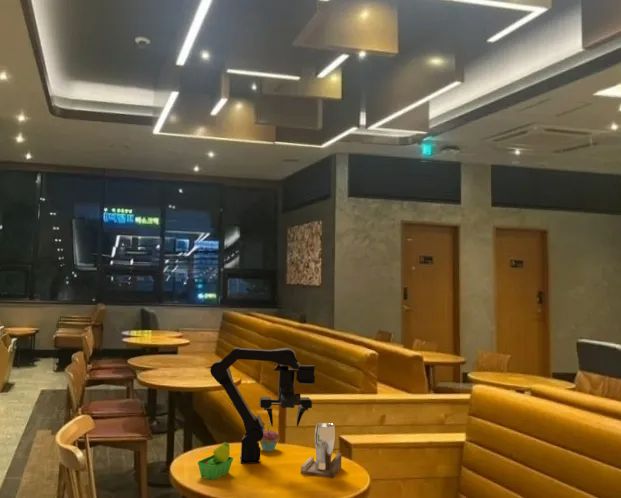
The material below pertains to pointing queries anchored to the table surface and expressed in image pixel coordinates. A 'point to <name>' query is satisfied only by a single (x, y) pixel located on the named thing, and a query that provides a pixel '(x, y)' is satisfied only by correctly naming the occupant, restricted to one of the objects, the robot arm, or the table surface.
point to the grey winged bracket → (310, 469)
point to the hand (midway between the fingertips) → (284, 426)
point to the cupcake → (269, 439)
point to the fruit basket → (216, 463)
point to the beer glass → (324, 445)
